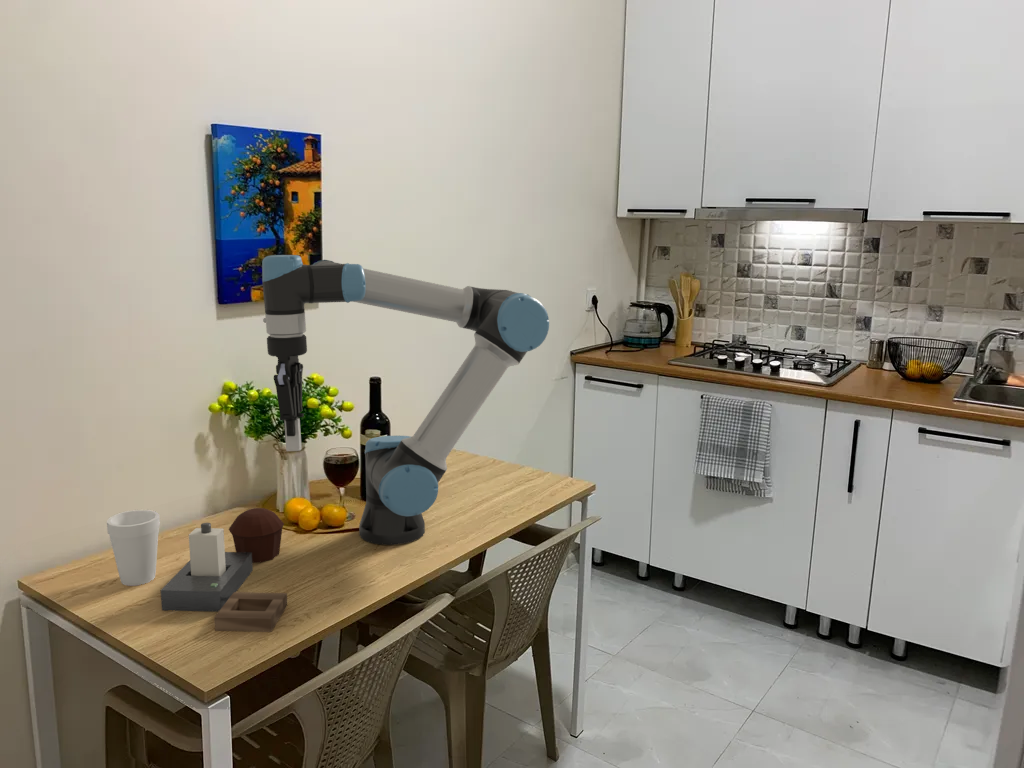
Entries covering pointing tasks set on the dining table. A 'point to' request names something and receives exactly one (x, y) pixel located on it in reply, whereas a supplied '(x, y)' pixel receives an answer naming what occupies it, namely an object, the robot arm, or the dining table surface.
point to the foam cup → (135, 545)
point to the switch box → (206, 586)
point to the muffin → (257, 534)
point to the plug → (207, 551)
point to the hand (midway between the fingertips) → (293, 449)
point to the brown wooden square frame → (251, 612)
